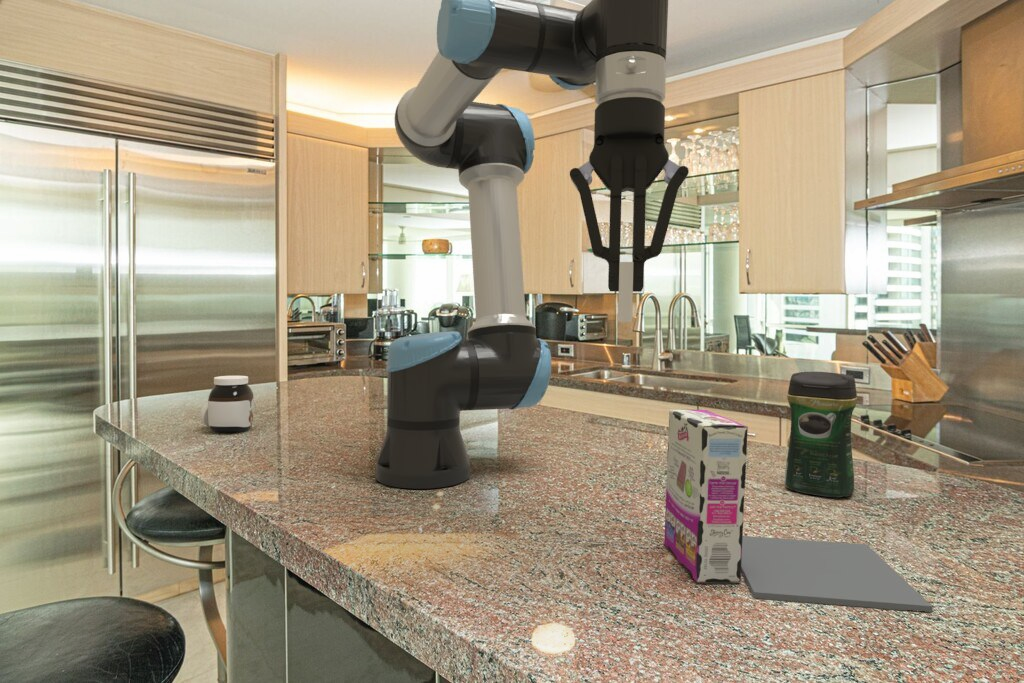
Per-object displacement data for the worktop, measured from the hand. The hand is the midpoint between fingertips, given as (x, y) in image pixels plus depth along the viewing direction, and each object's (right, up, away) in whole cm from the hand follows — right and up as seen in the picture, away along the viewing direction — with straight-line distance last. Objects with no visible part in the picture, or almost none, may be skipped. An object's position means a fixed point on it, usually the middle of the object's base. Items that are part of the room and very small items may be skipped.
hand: (624, 321), depth 72 cm
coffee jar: (+35, -26, +29) cm, 52 cm away
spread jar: (-75, -22, +69) cm, 104 cm away
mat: (+20, -27, -2) cm, 34 cm away
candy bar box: (+8, -27, 0) cm, 28 cm away
